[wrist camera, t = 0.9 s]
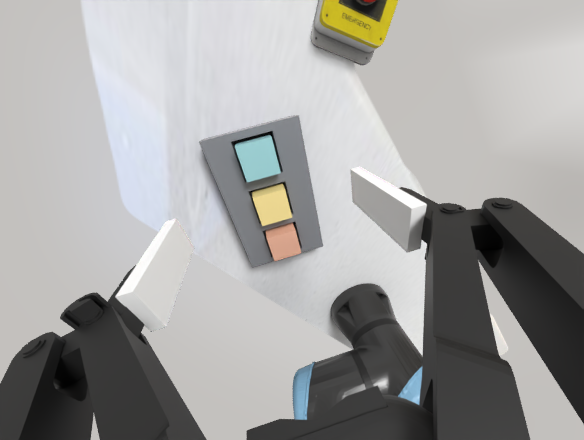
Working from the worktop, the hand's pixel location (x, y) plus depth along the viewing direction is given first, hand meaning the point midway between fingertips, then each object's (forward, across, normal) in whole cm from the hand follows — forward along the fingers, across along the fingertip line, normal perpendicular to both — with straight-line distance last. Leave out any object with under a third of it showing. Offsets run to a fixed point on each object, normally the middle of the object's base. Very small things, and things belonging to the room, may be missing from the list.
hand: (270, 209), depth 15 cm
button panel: (+20, 0, +8) cm, 21 cm away
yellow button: (+18, 0, +8) cm, 19 cm away
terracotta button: (+17, 0, +15) cm, 23 cm away
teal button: (+18, 0, 0) cm, 18 cm away
